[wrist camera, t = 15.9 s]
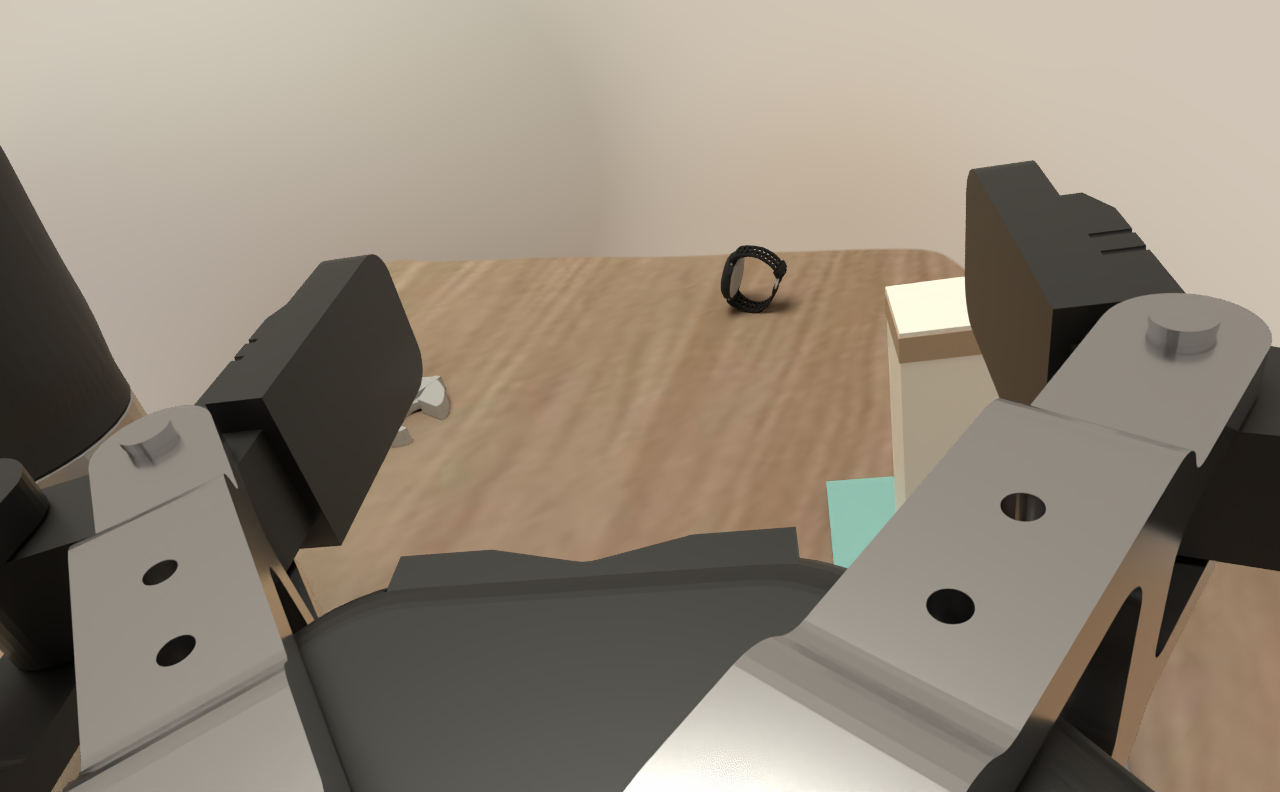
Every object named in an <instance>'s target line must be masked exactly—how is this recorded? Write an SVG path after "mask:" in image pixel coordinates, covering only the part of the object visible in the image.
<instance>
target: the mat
mask: <svg viewBox="0 0 1280 792" xmlns="http://www.w3.org/2000/svg"><path fill="white" fill-rule="evenodd" d="M826 484H827V495H828V505H829V516H830V527H831V538H832V548H833V559H834V565H838V566H842V567H845V568H849V567H850V565H851V564H852V563H853V562H854V561H855V560H856V558H857V557H858V556H859V555H860V554H861V553H862V551H863V550H864V549H865V548H866V547H867V546H868V544H869V543H870V542H871V541H872V540H873V539H874V537H875V536H876V535H877V534H878V533H879V531H880V530H881V529H882V528H883V527H884V526H885V524H886V523H887V522H888V521H889V520H890V519H891V517H892V516H893V515H894V514H895V513H896V509H895V487H894V476H893V477H880V478H866V479H853V480H840V481H826Z"/></svg>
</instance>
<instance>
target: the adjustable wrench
mask: <svg viewBox="0 0 1280 792" xmlns="http://www.w3.org/2000/svg"><path fill="white" fill-rule="evenodd" d="M445 389H446V388H445V385H444V383H443V380H442V378H441V376H433V377H422V382H421V386H420V389H419V391H418V393H417V395H416V397H415V399H414V401H413V403H412V405H411V407H410V409H409V411H408V413H407V415H406V417H407V416H409V415H410V414H412V413H413V412H414V411H416V410H418V409H422V411H423V413H425V414H428V415H430V416H433V417H435V418H438V419H440V420H443V419H445V418H446V417H447V416H448V413H449V409H450V404H449V400H448V398H447V395H446V393H445ZM406 417H405V418H406ZM410 443H412V439H411V437H410V435H409V432H408V430H407V428H406V427H403V426H401V427H400V429H399V431H398V433H397V435H396V437H395V439H394V441H393V443H392V445H391V447H398V446H405V445H408V444H410Z"/></svg>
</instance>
